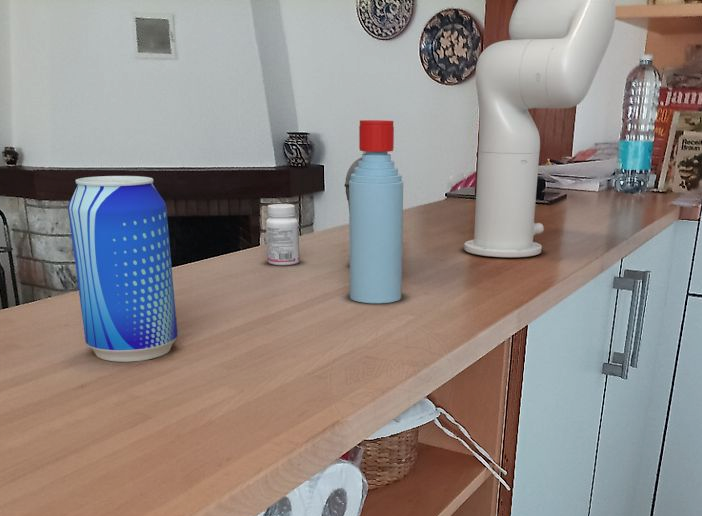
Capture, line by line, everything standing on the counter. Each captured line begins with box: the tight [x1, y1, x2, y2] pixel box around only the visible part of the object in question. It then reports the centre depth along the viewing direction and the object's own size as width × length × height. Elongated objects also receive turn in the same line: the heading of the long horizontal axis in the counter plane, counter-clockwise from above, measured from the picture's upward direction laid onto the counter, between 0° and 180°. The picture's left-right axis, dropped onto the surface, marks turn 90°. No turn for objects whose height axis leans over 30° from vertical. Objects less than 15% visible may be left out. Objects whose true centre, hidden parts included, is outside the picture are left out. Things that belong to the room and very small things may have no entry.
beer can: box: [67, 175, 179, 363], centre depth 72 cm, size 8×8×16 cm
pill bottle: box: [265, 203, 301, 266], centre depth 115 cm, size 5×5×8 cm
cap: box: [358, 119, 395, 152], centre depth 90 cm, size 4×4×3 cm
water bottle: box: [348, 151, 404, 304], centre depth 93 cm, size 6×6×20 cm
